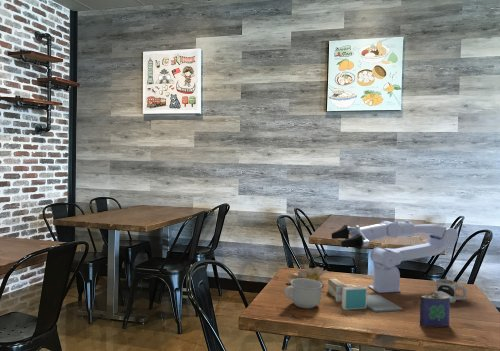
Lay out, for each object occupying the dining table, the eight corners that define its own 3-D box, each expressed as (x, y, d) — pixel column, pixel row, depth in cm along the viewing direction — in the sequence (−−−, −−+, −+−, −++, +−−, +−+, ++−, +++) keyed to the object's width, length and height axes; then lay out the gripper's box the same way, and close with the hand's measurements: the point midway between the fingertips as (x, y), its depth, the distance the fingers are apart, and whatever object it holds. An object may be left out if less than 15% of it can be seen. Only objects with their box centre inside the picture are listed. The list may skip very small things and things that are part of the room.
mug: (435, 300, 153) (436, 282, 153) (435, 295, 159) (436, 278, 159) (466, 305, 149) (467, 286, 149) (465, 300, 155) (466, 282, 155)
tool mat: (378, 296, 157) (378, 294, 157) (401, 310, 142) (402, 308, 142) (353, 297, 155) (353, 295, 155) (375, 312, 140) (375, 310, 140)
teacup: (311, 299, 152) (312, 276, 152) (327, 309, 142) (328, 285, 142) (276, 302, 147) (276, 280, 147) (290, 313, 137) (290, 289, 137)
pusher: (338, 291, 162) (339, 278, 162) (352, 300, 151) (352, 286, 151) (324, 292, 160) (324, 279, 160) (336, 301, 150) (337, 287, 150)
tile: (363, 306, 146) (364, 286, 145) (366, 308, 144) (367, 288, 143) (341, 307, 144) (342, 287, 143) (344, 310, 142) (345, 289, 141)
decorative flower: (317, 273, 180) (319, 252, 177) (331, 287, 170) (333, 264, 167) (285, 279, 174) (286, 257, 172) (297, 293, 164) (299, 270, 162)
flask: (446, 323, 131) (447, 289, 131) (451, 327, 128) (453, 292, 128) (417, 324, 130) (419, 289, 130) (422, 328, 127) (423, 292, 127)
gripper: (358, 217, 168) (327, 223, 165) (379, 230, 155) (346, 237, 151) (358, 233, 170) (328, 239, 167) (379, 248, 157) (346, 255, 153)
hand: (336, 239), depth 159 cm, fingers open, 7 cm apart
